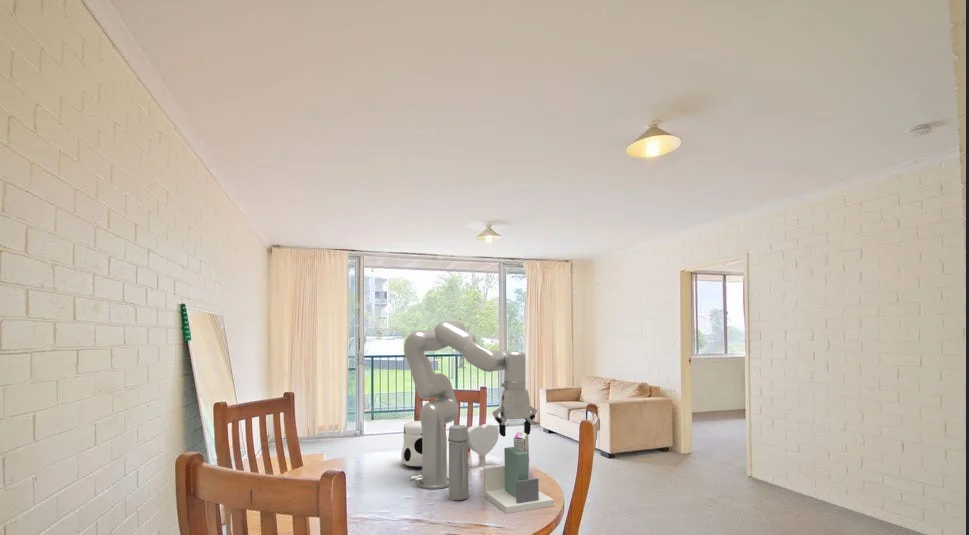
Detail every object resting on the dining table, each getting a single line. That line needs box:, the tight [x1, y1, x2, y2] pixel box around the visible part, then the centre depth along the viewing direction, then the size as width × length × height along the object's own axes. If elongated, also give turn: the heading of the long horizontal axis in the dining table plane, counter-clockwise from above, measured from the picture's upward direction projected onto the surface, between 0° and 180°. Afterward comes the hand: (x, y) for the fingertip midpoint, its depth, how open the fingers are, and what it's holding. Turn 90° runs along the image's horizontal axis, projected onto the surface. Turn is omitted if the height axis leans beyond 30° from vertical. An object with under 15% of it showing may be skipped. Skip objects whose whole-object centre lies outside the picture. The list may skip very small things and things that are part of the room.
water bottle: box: [447, 424, 470, 502], centre depth 190 cm, size 9×8×25 cm
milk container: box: [400, 420, 422, 469], centre depth 234 cm, size 17×17×18 cm
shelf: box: [483, 462, 555, 514], centre depth 186 cm, size 18×19×10 cm
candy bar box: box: [513, 431, 530, 464], centre depth 217 cm, size 11×5×16 cm, turn 168°
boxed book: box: [504, 446, 530, 498], centre depth 188 cm, size 4×11×15 cm, turn 23°
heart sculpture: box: [467, 423, 500, 472], centre depth 230 cm, size 16×5×18 cm, turn 125°
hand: (515, 434), depth 189 cm, fingers open, 9 cm apart
